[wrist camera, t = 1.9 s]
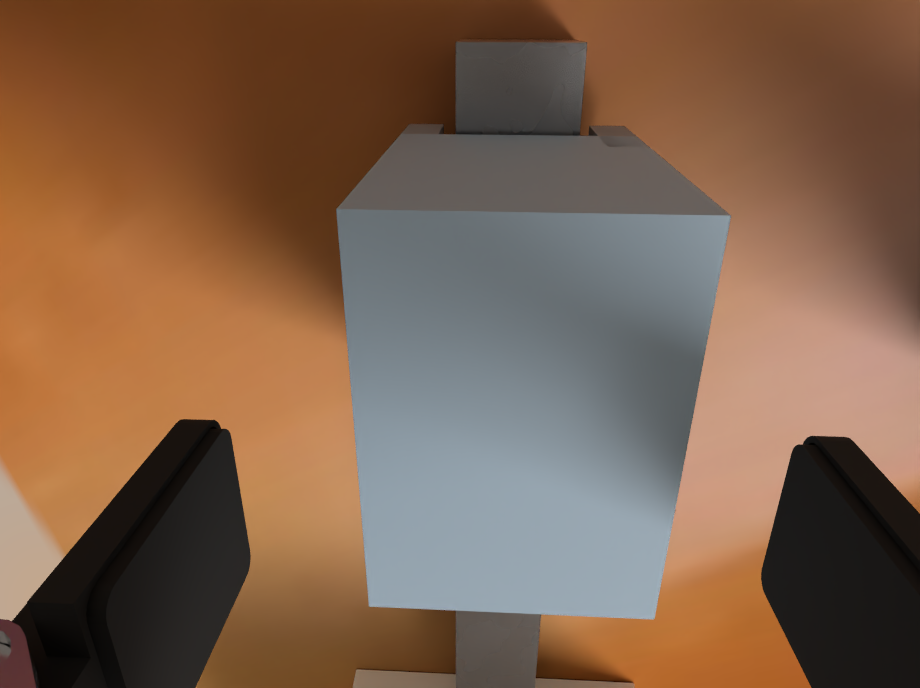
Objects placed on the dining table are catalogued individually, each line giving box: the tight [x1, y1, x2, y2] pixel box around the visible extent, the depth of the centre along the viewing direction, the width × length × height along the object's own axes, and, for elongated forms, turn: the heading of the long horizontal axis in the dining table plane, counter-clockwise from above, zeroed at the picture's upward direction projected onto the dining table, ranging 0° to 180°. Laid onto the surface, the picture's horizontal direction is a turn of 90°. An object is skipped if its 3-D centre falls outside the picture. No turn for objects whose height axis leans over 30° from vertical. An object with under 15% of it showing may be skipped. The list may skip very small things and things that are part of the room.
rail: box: [456, 39, 587, 688], centre depth 22 cm, size 25×3×2 cm, turn 0°
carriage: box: [336, 124, 731, 619], centre depth 15 cm, size 8×6×9 cm
